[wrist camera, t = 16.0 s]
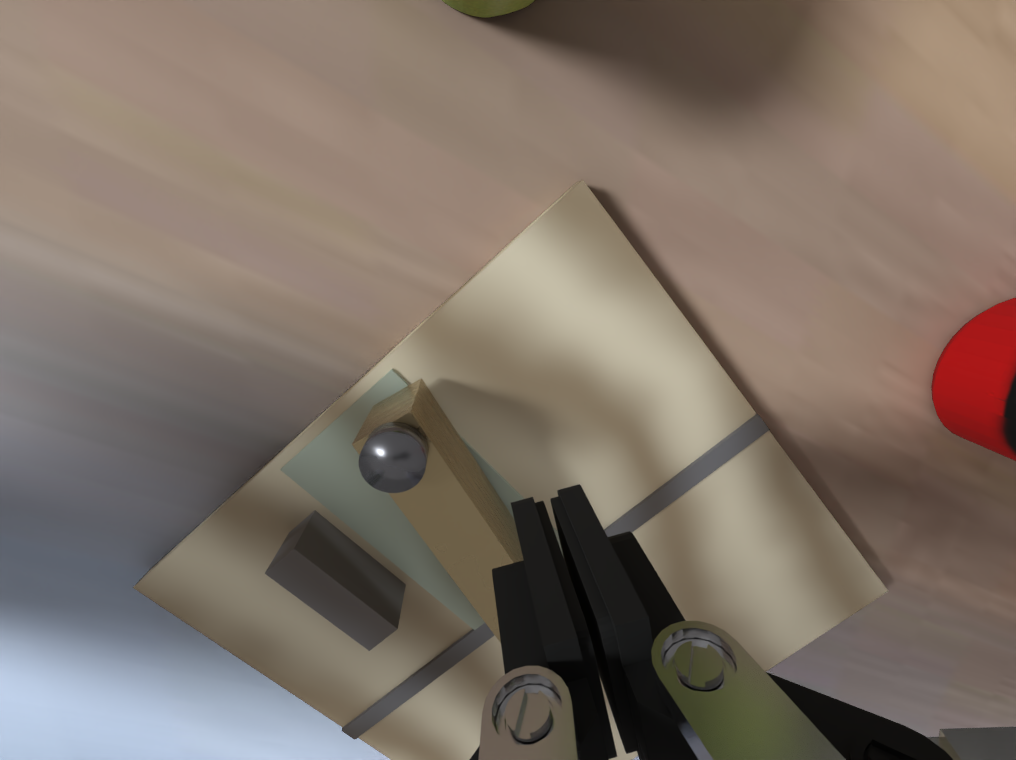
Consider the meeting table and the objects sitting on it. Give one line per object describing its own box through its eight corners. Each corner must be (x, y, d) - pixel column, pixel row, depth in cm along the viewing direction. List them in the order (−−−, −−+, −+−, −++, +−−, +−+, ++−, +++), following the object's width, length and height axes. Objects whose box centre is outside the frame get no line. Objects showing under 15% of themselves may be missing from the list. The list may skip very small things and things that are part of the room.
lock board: (509, 817, 32) (514, 897, 28) (148, 570, 24) (88, 635, 20) (871, 576, 28) (934, 631, 24) (576, 182, 20) (601, 172, 16)
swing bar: (592, 610, 24) (619, 698, 20) (524, 643, 25) (536, 738, 20) (436, 366, 20) (426, 408, 15) (355, 412, 20) (322, 466, 16)
